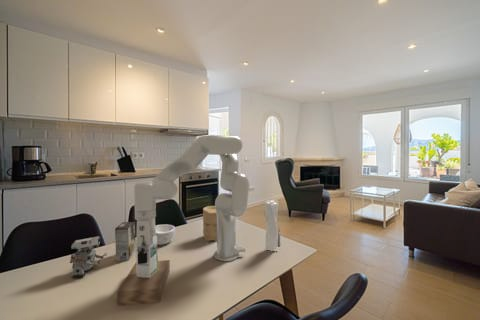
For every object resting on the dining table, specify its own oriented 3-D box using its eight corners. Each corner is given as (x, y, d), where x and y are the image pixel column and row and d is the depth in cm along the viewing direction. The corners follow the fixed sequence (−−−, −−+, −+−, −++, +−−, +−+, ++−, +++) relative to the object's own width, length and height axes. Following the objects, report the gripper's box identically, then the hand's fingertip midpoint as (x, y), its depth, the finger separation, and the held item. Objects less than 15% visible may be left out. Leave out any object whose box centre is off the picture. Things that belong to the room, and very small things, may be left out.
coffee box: (123, 252, 116) (122, 221, 116) (136, 251, 117) (135, 221, 116) (115, 261, 107) (114, 228, 106) (129, 260, 108) (128, 227, 107)
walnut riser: (169, 271, 99) (169, 260, 98) (159, 301, 79) (159, 288, 79) (136, 273, 97) (136, 262, 96) (117, 305, 77) (117, 291, 77)
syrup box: (150, 278, 84) (150, 240, 84) (135, 276, 85) (135, 239, 84) (157, 270, 90) (157, 235, 89) (144, 269, 91) (144, 234, 90)
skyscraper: (278, 254, 115) (278, 200, 114) (263, 251, 118) (263, 199, 116) (280, 247, 123) (281, 197, 122) (266, 245, 126) (266, 196, 124)
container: (225, 240, 132) (225, 210, 131) (204, 242, 128) (204, 212, 127) (221, 232, 144) (221, 205, 143) (201, 234, 140) (201, 206, 139)
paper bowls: (180, 240, 132) (180, 226, 132) (159, 249, 119) (159, 235, 119) (163, 234, 140) (163, 222, 140) (142, 243, 128) (141, 229, 127)
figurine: (98, 276, 94) (97, 242, 93) (67, 279, 92) (66, 243, 92) (107, 265, 103) (106, 233, 102) (80, 267, 101) (78, 235, 101)
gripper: (149, 220, 78) (150, 268, 79) (160, 207, 95) (161, 246, 96) (127, 221, 77) (128, 269, 78) (141, 208, 94) (142, 247, 95)
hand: (146, 256), depth 87 cm, fingers open, 9 cm apart
